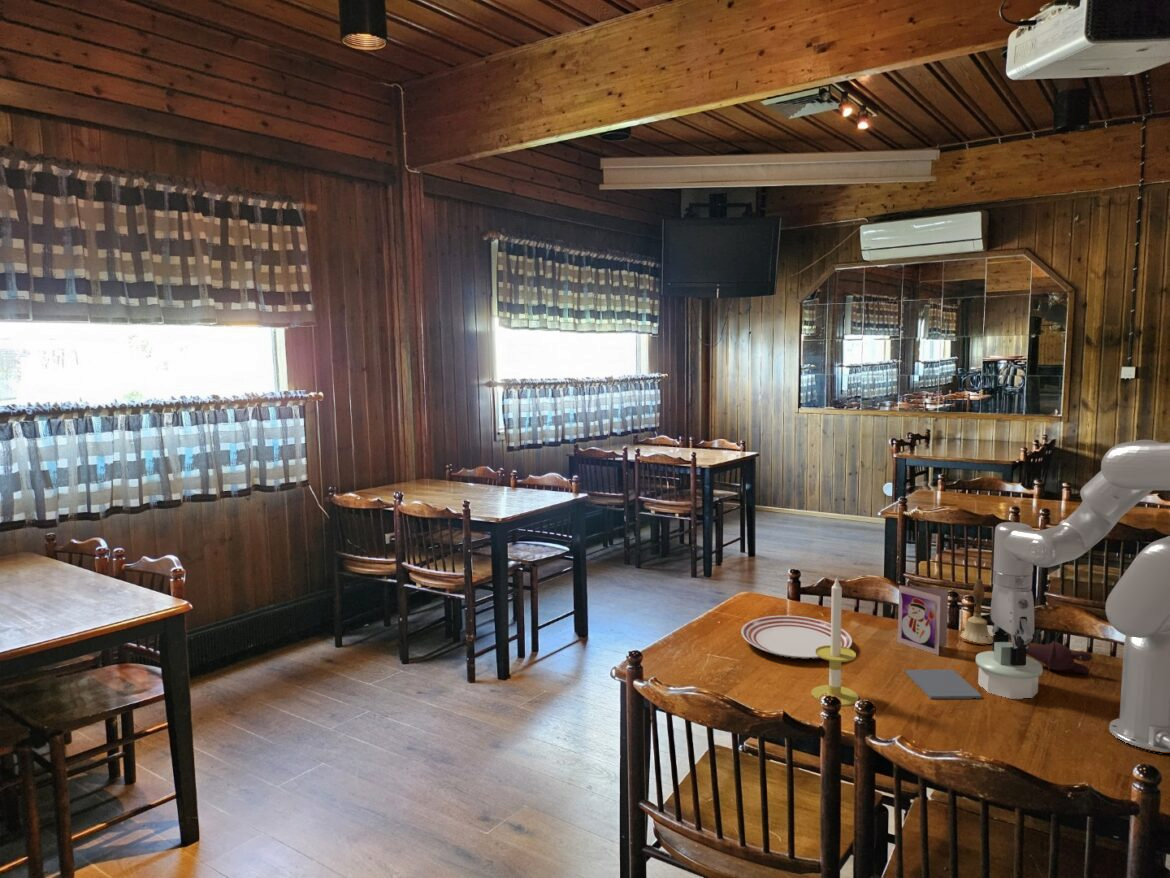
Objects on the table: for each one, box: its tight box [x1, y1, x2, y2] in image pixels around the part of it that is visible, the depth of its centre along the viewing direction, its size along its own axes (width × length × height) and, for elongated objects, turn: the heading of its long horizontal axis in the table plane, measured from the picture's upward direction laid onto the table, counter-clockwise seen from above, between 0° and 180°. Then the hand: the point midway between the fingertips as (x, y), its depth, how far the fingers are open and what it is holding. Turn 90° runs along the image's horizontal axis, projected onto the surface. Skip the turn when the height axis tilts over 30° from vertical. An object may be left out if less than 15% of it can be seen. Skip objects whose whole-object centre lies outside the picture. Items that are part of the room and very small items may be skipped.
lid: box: [975, 641, 1044, 679], centre depth 173 cm, size 13×13×5 cm
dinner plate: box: [740, 614, 853, 660], centre depth 201 cm, size 28×27×3 cm
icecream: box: [1026, 640, 1093, 675], centre depth 183 cm, size 7×7×15 cm
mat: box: [904, 669, 983, 700], centre depth 176 cm, size 14×11×1 cm
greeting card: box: [897, 585, 949, 656], centre depth 198 cm, size 11×7×15 cm, turn 33°
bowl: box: [977, 666, 1039, 700], centre depth 173 cm, size 11×11×5 cm
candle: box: [810, 577, 860, 707], centre depth 170 cm, size 10×10×27 cm
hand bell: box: [959, 578, 993, 644], centre depth 202 cm, size 8×8×16 cm
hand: (1008, 657), depth 173 cm, fingers open, 6 cm apart
